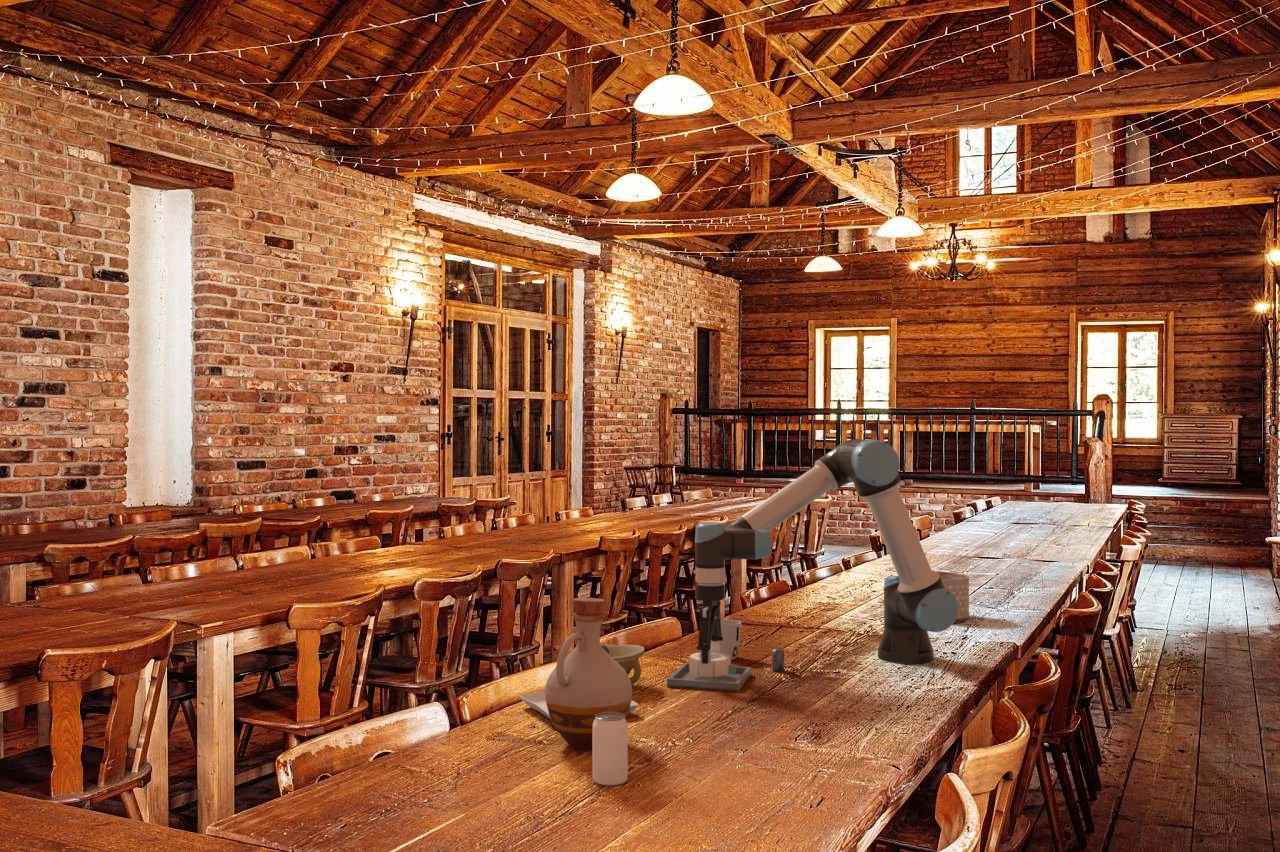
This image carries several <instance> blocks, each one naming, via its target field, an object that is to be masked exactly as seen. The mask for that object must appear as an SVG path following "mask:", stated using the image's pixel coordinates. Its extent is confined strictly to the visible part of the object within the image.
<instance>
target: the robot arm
mask: <svg viewBox="0 0 1280 852" xmlns="http://www.w3.org/2000/svg"><path fill="white" fill-rule="evenodd" d="M900 465H901V464H900V458H899V454H898V453H897V451H896V450H895V449H894V447H892V446H891V445H890V444H889V443H888V442H885V441H882V440H880V439H875V438H868V439H863V438H862V439H861V438H852V439H848V440H845V441H844V442H842V443H840V444H838V445H836V446H835V447H833V449H831V450H830V451H828V452H827V453H825V454H824V455H823V456H821V457H820V458H818V459H816V460H815V461H814V466H813V467H812V468H810V469H808V470H807V471H805V472H804V473H803V474H802V475H800V476H798V477H796V479H794V480H792V481H791V482H790V483H788V484H786V485H785V486H783V487H782V488H781V489H780V490H778V491H776V492H775V493H774V494H772V495H771V496H768V497H767V498H766V499H765V500H763V501H761V502H760V503H759V504H758V505H756V506H754V507H753V508H752V509H750V510H749V511H748V512H746V513H744V514H743V515H741V516H740V517H739V518H736V519H735V520H734V521H732V522H731V523H730V522H729V523H722V522H715V521H714V522H712V521H710V522H709V521H708V522H707V521H706V522H700V523H697V525H696V526H695V535H694V551H695V553H694V554H695V555H694V556H695V557H694V558H695V566H694V567H695V569H694V570H693V572H692V573H693V574H694V575H695V577H694V578H695V583H696V584H695V587H694V589H695V590H694V591H695V593H694V595H695V596H694V597H695V599H696V600H698V601H702V602H703V603H702V604H703V605H702V606H701V607H700V609H699V610H698V611H699V627H698V628H699V629H698V644H697V646H696V650H697V651H699V653H700V676H709V677H711V652H720V641H723V637H721V636H722V634H721V620H722V619H721V601H723V600H724V599H725V598H726V586H725V584H724V583H725V582H726V564H725V563H726V560H729V561H732V560H760V559H767V558H769V556H770V555H771V551H772V538H771V534H770V531H772V530H773V529H775V528H776V527H777V526H779V525H781V524H782V523H784V522H785V521H786V520H787V519H789V518H791V517H792V516H794V515H795V514H797V513H799V512H800V511H801V510H802V509H804V508H806V507H807V506H808V505H810V504H811V503H813V502H814V501H816V500H818V498H820V497H822V496H824V494H826V493H828V492H829V491H831V490H832V491H837V490H838V489H840V488H842V487H843V486H845V485H848V484H852V483H853V485H854V487H855V490H856V492H857V495H858V497H859V498H862V499H863V500H866V501H867V504H868V506H869V508H870V510H871V513H872V516H873V518H874V520H875V522H876V523H875V524H876V526H877V527H878V530H879V533H880V535H881V537H882V539H883V542H884V545H885V547H886V550H887V551H888V554H889V556H890V559H891V562H892V564H893V566H894V568H895V571H896V574H897V575H889V576H886V577H885V579H884V584H883V613H884V614H883V619H884V620H883V622H884V623H883V625H884V627H883V628H884V629H883V632H882V635H881V638H880V641H879V644H878V647H877V657H878V659H880V660H883V661H886V662H892V663H899V664H925V663H931V662H933V661H934V659H935V658H934V657H935V656H934V655H935V654H934V652H935V651H934V649H933V648H934V647H933V644H932V642H931V640H930V636H929V632H933V633H940V632H943V631H947V629H949V628H951V626H952V625H954V623H955V622H954V621H955V619H956V617H957V615H958V609H959V607H958V601H957V599H956V597H955V596H954V595H953V594H952V593H951V592H950V591H949V590H947V589H945V586H944V584H943V582H942V579H941V577H940V574H939V573H937V572H938V571H935V570H933V569H931V566H930V563H929V561H928V558H927V556H926V554H925V551H924V548H923V547H922V544H921V542H920V539H919V537H918V535H917V532H916V529H915V527H914V524H913V522H912V520H911V517H910V515H909V513H908V509H907V508H906V506H905V502H904V500H903V497H902V495H901V493H900V491H899V487H900V484H901V482H902V480H901V477H900V474H899V470H900V469H901V468H900Z"/></svg>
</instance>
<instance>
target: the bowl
mask: <svg viewBox="0 0 1280 852" xmlns="http://www.w3.org/2000/svg"><path fill="white" fill-rule="evenodd" d="M601 647H602V648H603V649H604V650H605V651H606V652H607V653H608V654H609V655H610V656H611V657H612V658H613V659H614V660H615V661H616V662H617V663H618V664H619V665H620V666H621V667H622V668H623V669H624V670H625V671H626V673H627V675H628V676H629V675H630V673H631V672H632V670H633V671H634V672H633V674H632V676H631V677H630V676H629V678H630V680H631V685H632V686H633V685H634V684H636V683H637V682H638V681H639V680H640V678H641V676H642V667H641V664H640V660H639V659H640V658H641V657H642V656H644V653H645V650H646V648H645V647H644V646H641V645H637V644H636V645H635V644H613V645H612V644H608V645H605V644H604V645H601Z"/></svg>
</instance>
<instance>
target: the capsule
mask: <svg viewBox="0 0 1280 852" xmlns="http://www.w3.org/2000/svg"><path fill="white" fill-rule="evenodd" d="M771 671H772V672H776V673H777V672H779V673H780V672H781V673H782V672H784V671H785V649H784V648H772V649H771Z"/></svg>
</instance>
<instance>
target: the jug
mask: <svg viewBox="0 0 1280 852" xmlns="http://www.w3.org/2000/svg"><path fill="white" fill-rule="evenodd" d="M571 601H572V605H573V609H574V612H572V618H573V620H574V621H575V626H576V632H573V633H572V634H570V635H569V636H568V637H567V638H566V639H565V641H564V643H563V644H562V646H561V649H560V650H559V653H558V656H557V659H556V665H555V668H554V669H553V670H552V671H551V673H550V674H549V676H548V677H547V680H546V683H545V689H544V691H545V698H546V704H547V708H548V712H549V715H550V718H551V719H550V720H551V723H552V725H553V727H554V729H556V730H557V733H558V734H559V735H560V736H561V737H562V739H564V741H565V742H566V744H567V745H568V746H569V747H570V748H572V749H574V750H578V751H593V722H594V720H595V715H596V714H598V713H602V712H619V713H622V714H624V715H625V720H626V721H627V719H628V715H629V713H630V712H629V709H630V704H631V700H633V699H632V698H633V696H632V695H633V687H632V686H633V684H632V685H631V680H630V676H629V674H628V675H627V673H626V671H625V670H624V669H623V668H622V667H621V666H620V665H619V664H618V663H617V662H616V661H615V660H614V659H613V658H612V657H611V656H610V655H609V654H608V653H607V652H606V651H605V650H604V649H603V648H602V647H601V646H602V644H601V641H600V640H601V627H602V622H603V620H604V618H605V612H603V609H604V605H605V602H606V600H605V599H603V598H596V597H594V598H593V597H575V598H572V600H571ZM575 641H576V646H575V647H574V648H573V650H571V651H570V652H569V650H570V648H571V646H572V644H573V643H574V642H575ZM568 652H569V654H568ZM567 654H568V655H567Z"/></svg>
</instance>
